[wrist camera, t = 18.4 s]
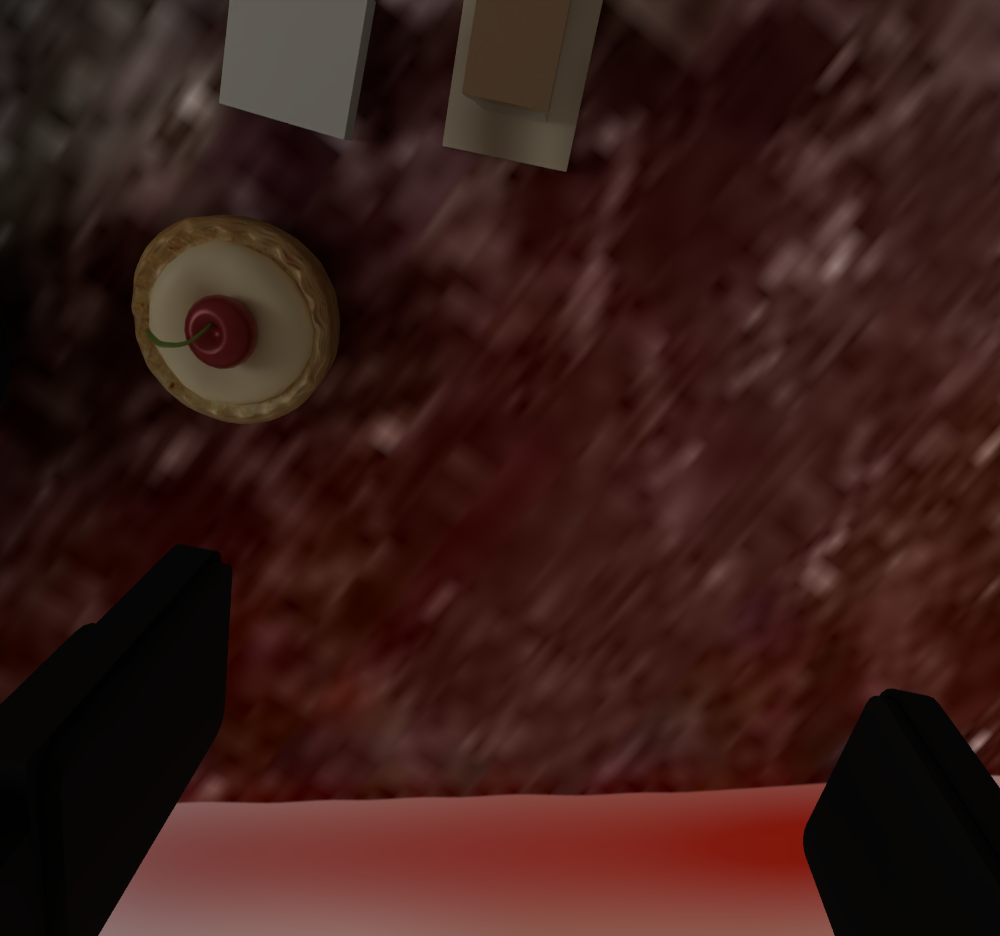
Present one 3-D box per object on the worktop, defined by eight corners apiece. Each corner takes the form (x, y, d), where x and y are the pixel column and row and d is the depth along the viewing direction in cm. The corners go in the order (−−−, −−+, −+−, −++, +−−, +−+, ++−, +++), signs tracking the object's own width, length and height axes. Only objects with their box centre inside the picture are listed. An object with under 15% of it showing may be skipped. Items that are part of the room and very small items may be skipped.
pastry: (368, 389, 48) (334, 440, 40) (196, 408, 49) (128, 461, 41) (328, 196, 43) (280, 209, 35) (138, 221, 44) (48, 239, 36)
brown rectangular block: (588, -75, 36) (599, -145, 28) (549, 123, 39) (548, 111, 31) (513, -92, 36) (502, -167, 28) (480, 108, 39) (461, 93, 31)
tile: (368, -6, 37) (234, -46, 37) (343, 139, 40) (219, 102, 40) (377, 3, 39) (250, -36, 39) (353, 140, 42) (234, 105, 42)
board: (624, -104, 36) (626, -113, 35) (565, 171, 41) (566, 171, 40) (487, -134, 36) (485, -144, 35) (445, 146, 41) (442, 145, 40)
